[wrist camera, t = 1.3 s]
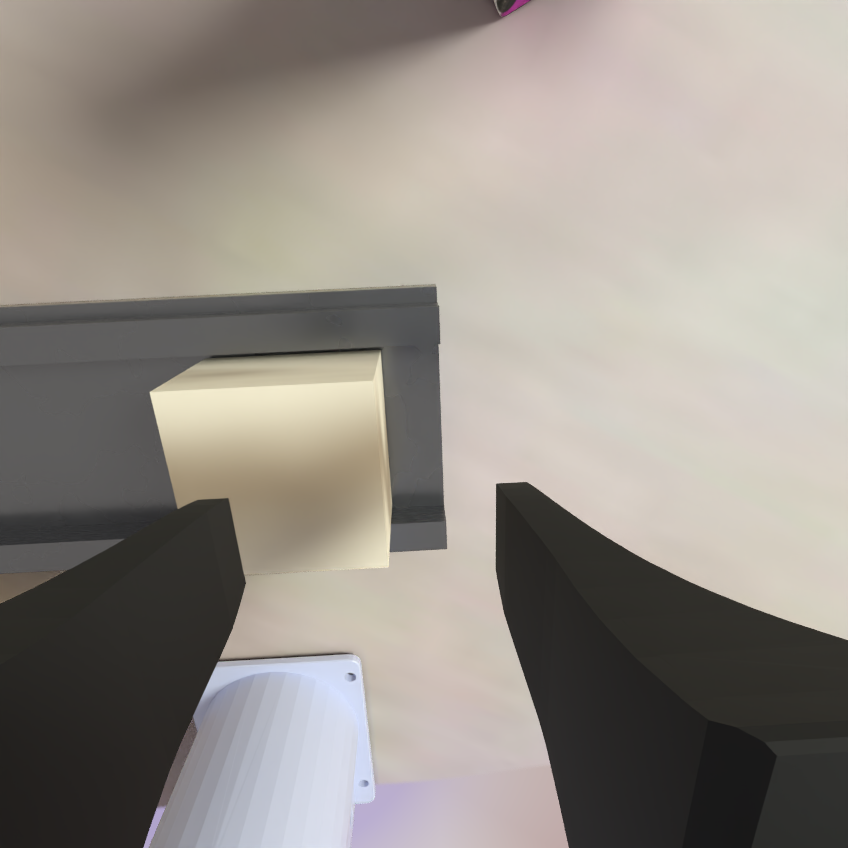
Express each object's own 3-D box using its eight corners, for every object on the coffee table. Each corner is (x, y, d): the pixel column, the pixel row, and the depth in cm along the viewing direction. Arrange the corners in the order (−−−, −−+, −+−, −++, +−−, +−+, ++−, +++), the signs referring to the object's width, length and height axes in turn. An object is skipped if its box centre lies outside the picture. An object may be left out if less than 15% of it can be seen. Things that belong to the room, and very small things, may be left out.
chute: (443, 531, 21) (447, 565, 19) (-90, 560, 21) (-147, 598, 19) (434, 284, 18) (439, 290, 16) (-206, 314, 17) (-292, 326, 15)
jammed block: (392, 503, 19) (388, 567, 16) (235, 512, 19) (194, 578, 16) (380, 349, 17) (373, 380, 14) (205, 358, 17) (149, 391, 14)
